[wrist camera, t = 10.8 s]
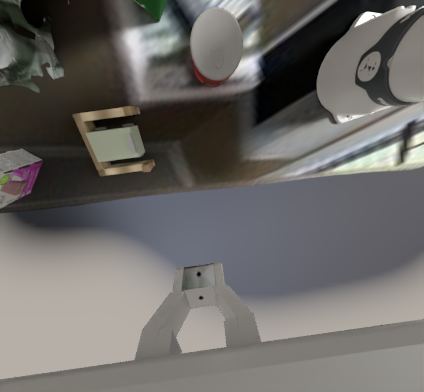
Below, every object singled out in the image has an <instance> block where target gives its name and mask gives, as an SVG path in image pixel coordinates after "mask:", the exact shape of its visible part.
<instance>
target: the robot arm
mask: <svg viewBox="0 0 424 392" xmlns="http://www.w3.org/2000/svg"><path fill="white" fill-rule="evenodd" d="M415 8H416V6H409V7H406V8H404V6H401V7H397V8H395V9H393V10H391V11H388V12H386V13H384V14H380V13H374V12H365V13H363V14H361V15H359V16H358V17H357V18H356V20H355V21H354V23H353V24H352V26H351V27H350V29H349V31H348V32H347V33H346V34H345V35H344V36H343V37H342V38H341V39H339V40H338V41H337V42H336V43H335V44H334V45H333V46H332V48H331V49H330V50H329V52H328V53H327V55H326V56H325V58H324V60H323V62H322V64H321V67H320V69H319V73H318V77H317V94H318V98H319V100H320V102H321V104H322V105H323V106H324V107H325V108H326V109H327V110H329V111H330V112H331V113H332V114H333V117H334V119H335V121H336V122H337V123H344V122H347V121H350V120H353V119H356V118H359V117H362V116H365V115H371V114H373V113H374V112H377V111H380V110H383V109H386V108H389V107H392V106H393V107H396V106H405V105H412V104H416V103H419V102H424V6H423V7H421V8H419V9H417V10H415ZM347 115H348V116H347ZM346 116H347V117H346ZM213 305H217V307H218V308H219V310H220V311H221V313H222V314H223V316H224V317H225V321H224V326H225V336H226V346H227V347H224V348H218V349H210V350H203V351H197V352H189V353H182V354H181V352H182V350H181V348H180V346H179V344H178V341H177V339H176V336H177V334H178V332H179V330H180V328H181V326H182V324H183V322H184V321H185V319H186V317H187V315H188V313H189V311H190V309H193V308H198V307H204V306H213ZM0 392H424V319H421V320H415V321H408V322H401V323H393V324H386V325H380V326H372V327H365V328H358V329H351V330H344V331H337V332H330V333H323V334H316V335H310V336H302V337H296V338H288V339H281V340H274V341H267V342H261V340H260V336H259V333H258V329H257V325H256V321H255V317H254V314H253V313H252V312H251V311H250V310H249V308H248V307H247V306H246V305H245V304H244V303H243V302H242V301H241V300H240V298H239V297H238V296H237V295H236V294H235V293H234V292H233V291H232V290H231V288H230V287H229V286H228V285H225V282H224V275H223V269H222V263H221V262H220V263H211V264H205V265H199V266H191V267H183V268H177V269H176V272H175V278H174V285H173V292H172V293H170V294H169V295H168V297H167V298H166V299H165V300H164V302H163V303H162V304H161V306H160V307H159V308H158V310H157V311H156V312H155V314H154V315H153V316H152V318H151V319H150V320H149V322H148V323H147V324H146V326H145V327H144V328H143V330H142V333H141V337H140V341H139V345H138V348H137V352H136V357H135V360H133V361H126V362H120V363H112V364H105V365H98V366H91V367H85V368H77V369H70V370H63V371H57V372H49V373H42V374H35V375H28V376H21V377H14V378H7V379H1V380H0Z"/></svg>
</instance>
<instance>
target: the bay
mask: <svg viewBox="0 0 424 392" xmlns="http://www.w3.org/2000/svg"><path fill="white" fill-rule="evenodd" d="M137 114H141V113H140V109H139V106H126V107H122V108H115V109H107V110H100V111H92V112H85V113H78V114H72V116H73V118H74V120H75V122H76V124H77V127H78V129H79V131H80V133H81V135H82V138H83V140H84V142H85V144H86V146H87V148H88V151H89V153H90V155H91V157H92V159H93V162H94V164H95V166H96V168H97V170H98V173H99V175H100V176H107V175H114V174H121V173H129V172H136V171H143V172H150V171H151V170H152V168H153V167H154V166H155V162H154V159H150V160H143V161H135V162H128V163H120V164H113V165H111V163H110V162H107V161H105V162H98V160H97V158H96V156H95V154H94V151H93V149H92V147H91V145H90V142H89V140H88V138H87V136H86V133H89V132H94V128H96V127H95V124H94V122H93V120H100V119H108V118H115V117H123V116H130V115H137Z"/></svg>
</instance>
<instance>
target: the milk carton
mask: <svg viewBox="0 0 424 392" xmlns="http://www.w3.org/2000/svg"><path fill="white" fill-rule="evenodd" d="M134 1H135V2H136V3H137V4H139V5H140V6H141V7H142V8H143V9H144V10H146V11H147V12H148V13H149V14H150V15H152V16H153V17H154V18H155V19H156V20H157V21H160V18H161V16H162V13H163V11H164V8H165V6H166V3H167V1H168V0H134Z"/></svg>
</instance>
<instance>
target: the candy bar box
mask: <svg viewBox="0 0 424 392" xmlns="http://www.w3.org/2000/svg"><path fill="white" fill-rule="evenodd" d="M42 163H43V160H42V159H41V158H39V157H37V156H35V155H33V154H31V153H29V152H28V151H26V150H24V149H22V148H20V149H16V150H11V151H7V152H2V153H0V208H3V207H5V206H6V205H8V204H10V203H12V202H14V201H16V200H18V199H20V198H22V197H24V196H26V195H28V194H30V193H31V192H32V189H33V186H34V183H35V181H36V178H37V176H38V173H39V170H40V168H41V165H42Z"/></svg>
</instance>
